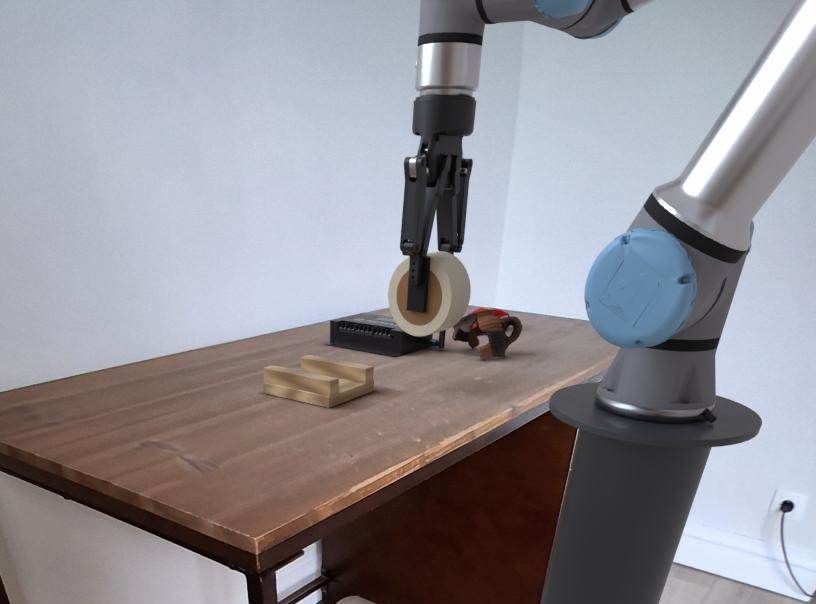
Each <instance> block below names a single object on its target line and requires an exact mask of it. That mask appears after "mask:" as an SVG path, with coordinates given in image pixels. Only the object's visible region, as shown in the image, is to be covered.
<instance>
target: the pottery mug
mask: <svg viewBox="0 0 816 604" xmlns="http://www.w3.org/2000/svg"><path fill="white" fill-rule="evenodd" d="M471 313H472V312H471ZM471 313H470V314H469V315H468V314H467V315H464V316H463V317H462V318H461V320H460V321H459V322H458V323H457V324H455V325H454V326H453V327H452V328H453V330H454V331H453V333H452V336H451V338H452V339H453V341H454V342H457V341H459V342H463V343H467V344H468V346H469V347H470V349H472V350H473V349H475V348H477V347H478V349H477V350H478V353H479V358H480V361H486V360H489V359H492V358H496V357H498V358H501V357H502V358H505V357H506V351H507V349H508V348H509V346H511V344H513V343H514V342H517V340H518V339H519V337H520V336H521V334H522V331H523V324H522V323H521V322H522V321H521V320H520V318H519V317H517V316H513V315H509V317H506V318H503V319H498V318H497V317H495V316H494V311H493V310H492V309H487V310H482V311H478V312H475V313H472V314H471ZM474 323H476V327H475V328H473V329H471V328H472V326H473V324H474ZM510 326H512V332H511V334H510V335H507V334H506V332H507V329H508V328H509V327H510ZM479 331H483V332H482V333H486V336H487V339H488V343H486V344H483V345H481V346H479V345H480V340H479V338H478V336H479V335H477V333H478V332H479Z"/></svg>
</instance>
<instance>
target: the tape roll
mask: <svg viewBox="0 0 816 604" xmlns="http://www.w3.org/2000/svg"><path fill="white" fill-rule="evenodd" d="M426 257H431V259H430V271H429V283H428V295H427V308H426V312H424V313H422V312H415V311H407V294H408V277H409V262H410V257H409V256H407V257H406V258H404V259H403V260H402V261H401V262H400V263H399V264H398V265H397V266H396V268H395V269H394V271H393V272H392V274H391V278H390V280H389V284H388V290H387V291H388V292H387V300H388V307H389V311H390V314H391V317H393V318H394V320H395V322H396V323H397V325H398V326H399V327H400V328H401V329H402V330H403V331H405V332H406V333H408V334H410V335H413V336H419V337H421V336H427V335H430V334H433V335H434V334H436V333H439V332H440V331H443V330H446V331H447V330H449V329H451V328H453V326H454V325H455V324H457V323H458V322H459V321H460V320H461V318H463V317H464V316H465V314H466V312H467V310H468V307H469V303H470V300H471V293H472V292H471V291H472V290H471V289H472V288H471V287H472V286H471V280H470V276H469V273H468V271H467V268H466V267H465V264H463V262H462V260H460V259H459V258H458V257H457V256H456V255H455V254H454V255H452V254H450V253H448V252H443V251H438V250H437V251H431V252H427V255H426Z"/></svg>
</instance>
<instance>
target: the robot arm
mask: <svg viewBox="0 0 816 604" xmlns="http://www.w3.org/2000/svg"><path fill="white" fill-rule="evenodd" d="M658 1H659V0H420V3H419V20H418V21H419V24H418V37H417V55H416V61H415V65H414V66H415V82H414V89H415V90H416V92H419V96H416V97H415V100H413V108H412V123H411V124H412V125H411V132H412V134H413V135H414V136H416V137H420V141H419V146H418V149H417V152H416V153H417V154H416V155H414V156H405V158H404V159H403V173H404V187H403V188H404V189H403V190H404V191H403V203H402V213H401V227H400V239H399V251H400V252H401V255H402V256H404V257H410V262H409V277H408V294H407V311H415V312H422V313H424V312H426V308H427V295H428V283H429V271H430V259H431V257H426V255H427V253H429V246H430V241H431V237H432V233H433V227H434V222H435V219H436V233H437V234H436V236H437V238H436V239H437V251H443V252H448V253H450V254H452V255H454V256H455V254H454V253H457V254H460V253H461V252H462V251H463V245H464V243H465V234H466V233H465V232H466V223H467V222H466V221H467V212H468V211H467V209H468V198H469V187H470V179H471V175H472V170H473V165H474V161H473V159H472V158H466V157H465V158H464V156H463V155H464V153H463V150H464V149H463V139H464V137H470V136H471V135H473V133H474V130H475V119H476V109H477V100H476V98H475V96H473V93H475V92H477V90H478V89H479V83H480V75H481V73H480V72H481V62H482V52H483V51H482V50H483V41H484V33H485V28H486V25H496V24H504V23H515V22H516V23H517V22H532V23H535V24H537V25H541V26H544V27H547V28H550V29H554V30H557V31H560V32H562V33H565V34H567V35H569V36H571V37H573V38H575V39H578V40H595V39H599V38H602V37H605V36H607V35H608V34H610V33H611V32H613V30H614V29H616V28H617V27H618V26H619V24H621V22H622V21H623V19H625V17H627V16H628V15H630V14H633V13H635V12H636V11H638V10H641V9H644V8H645V7H647V6H650V5H652V4H654V3H656V2H658ZM815 138H816V0H795V1H794V3H792V5H791V7H790V9H789V10H788V12H787V13H786V14H785V16H784V17H783V19H782V21H781V22H780V24H779V25H778V26H777V28H776V29H775V31H774V33H773V34H772V36H771V37H770V39H769V40H768V42H767V43H766V45H765V47H764V48H763V49H762V50H761V52H760V53H759V55H758V57H757V59H756V60H755V62H754V63H753V64H752V66H751V67H750V69H749V71H748V72H747V73H746V75H745V77H744V78H743V80H742V81H741V83H740V84H739V86H738V87H737V89H736V90H735V92H734V93H733V94H732V96H731V98H730V99H729V101H728V102H727V104H726V105H725V107H724V109H723V110H722V111H721V113H720V115H719V116H718V117H717V119H716V120H715V122H714V123H713V125H712V126H711V128H710V130H709V131H708V132H707V134H706V136H705V137H704V139H703V140H702V141H701V143H700V145H699V146H698V148H697V149H696V150H695V152H694V154H693V155H692V157H691V158H690V160H689V162H688V163H687V164H686V166H685V167H684V169H683V170H682V172H681V174H680V175H679V176H678V177H676V178H675V179H673V180H671V181H668V182H666V183H662V184H660V185H657V186H655V187H654V189H653V190H652V191H651V193H650V195H648V198H647V199H646V201H645V202H644V204H643V206H642V207H641V208H640V210H639V212H638V213H637V214H636V216H635V217H634V219H633V221H632V222H631V224H630V225H629V227H628V228H627V230H626V231H625V232H624V233H621V234H619V235H617V236H616V237H614V239H613V240H612V241H611V242H610V243H608V244H607V245H606V246H605V247H604V248H603V249H602V250H601V251H600V252H599V254H598V255H597V256H596V258H594V259H595V260H594V261H593V263H592V264H591V267H590V269H589V271H588V274H587V276H586V280H585V286H584V296H583V297H584V298H583V299H584V303H585V310H586V315H587V318H588V320H589V322H590V325H591V327H592V329H594V331H595V332H596V333H597V334H598V335H599V336H600V338H602V339H603V340H604V341H606V342H607V343H609V344H611V345H613V346H614V347H615V346H616V347H618V348H619V349H618V351H617V353H616V354H615V356H614V358H613V360H612V362H610V365H609V367H608V369H607V371H606V372H605V374H603V375H604V376H603V377H602V379H601V381H600V382H601V383H600V385H599V387H598V389H597V393H596V397H595V404H596V406H597V407H598V408H600V409H601V410H603V411H605V412H607V413H610V414H613V415H616V416H619V417H623V418H627V419H631V420H636V421H642V422H650V423H660V424H689V423H696V422H701V421H704V420H708V421H709V422H710V423H713V422H714V421H715V420H716V419H717V418H716V417H715V416H714V415H713V413H712V412H713V409H714V406H715V403H716V400H715V399H716V395H717V387H716V386H717V385H716V381H717V380H716V356H717V355H716V354H717V350H718V347H719V344H720V341H721V337H722V335H723V331H724V329H725V325H726V322H727V318H728V315H729V313H730V309H731V306H732V304H733V300H734V297H735V294H736V291H737V289H738V285H739V282H740V278H741V275H742V272H743V269H744V265H745V262H746V260H747V257H748V255H749V253H750V252H751V249H752V239H753V236H754V231H755V223H754V218H755V217H756V215H757V214H758V212H759V211H760V210H761V209H762V207H763V206H764V205H765V203H766V202H767V201H768V200H769V198H770V197H771V196H772V194H773V193H774V192H775V190H776V189H777V188H778V187H779V186H780V184H781V183H782V181H783V180H784V179H785V177H786V176H787V175H788V173H789V172H790V171H791V170H792V168H793V167H794V166H795V165H796V163H797V162H798V160H799V159H800V158H801V156H802V155H803V154H804V153H805V151H806V150H807V149H808V148H809V146H810V145H811V144H812V142H813V141H814V139H815Z"/></svg>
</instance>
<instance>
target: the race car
mask: <svg viewBox="0 0 816 604" xmlns="http://www.w3.org/2000/svg"><path fill="white" fill-rule="evenodd" d="M487 309H492V310H493V311H494V316H495V317H497V318H498V319H503V318H506V317H509V316H510V313H509V312H507V311H505V310H502V309H499V308H495V307H480V308H477V309H474V310H473V311H472V312H468V313H467V315H469V314H472V313H475V312H478V311H482V310H487ZM475 327H476V323H474V324H473V326H472V328H471V329H473V328H475ZM481 333H484V332H483V331H479V332H478V333H477V336H479V335H480V334H481Z"/></svg>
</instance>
